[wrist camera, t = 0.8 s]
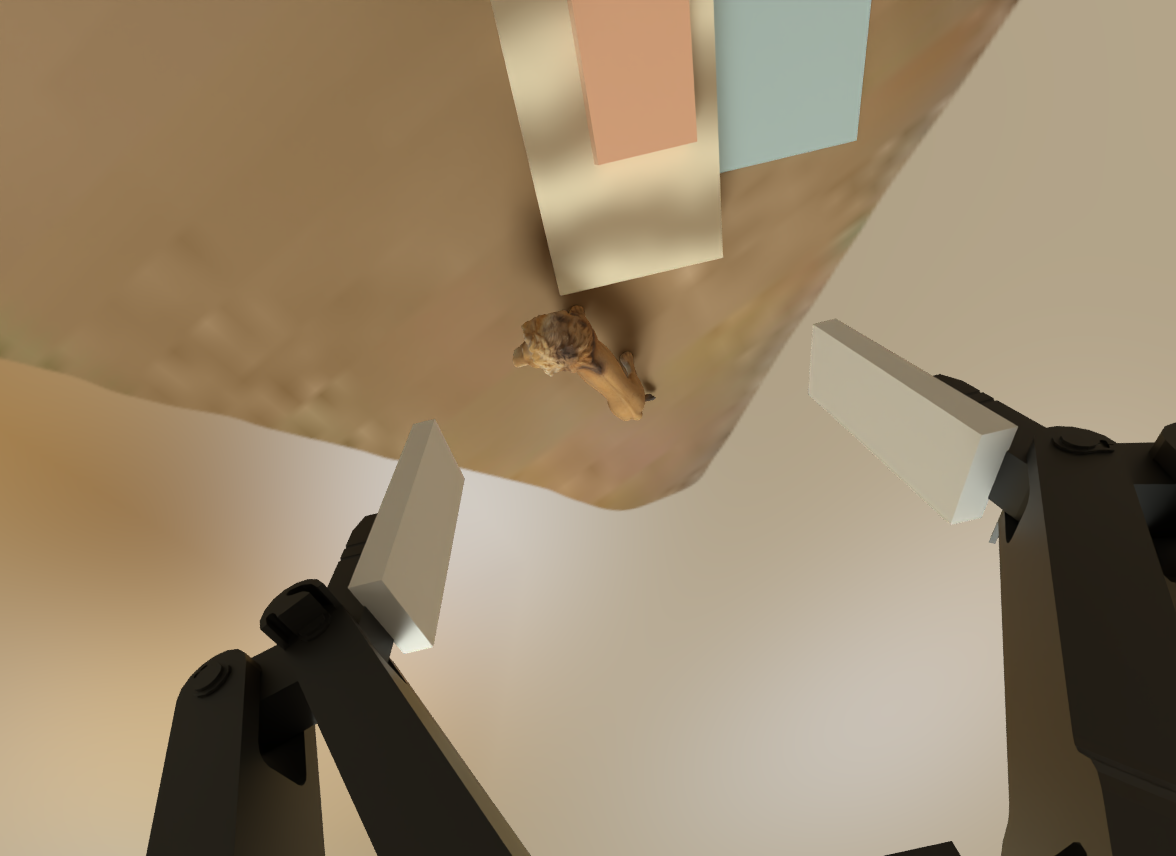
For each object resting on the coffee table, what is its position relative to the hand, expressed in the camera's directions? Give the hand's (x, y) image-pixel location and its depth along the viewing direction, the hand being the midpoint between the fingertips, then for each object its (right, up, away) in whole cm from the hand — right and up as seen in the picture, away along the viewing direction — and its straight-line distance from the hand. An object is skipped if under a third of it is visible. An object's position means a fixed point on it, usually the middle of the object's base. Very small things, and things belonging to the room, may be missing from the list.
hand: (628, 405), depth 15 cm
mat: (+11, +26, +13) cm, 31 cm away
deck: (0, +20, +15) cm, 25 cm away
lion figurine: (-2, +6, +24) cm, 24 cm away
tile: (+1, +20, +10) cm, 23 cm away
